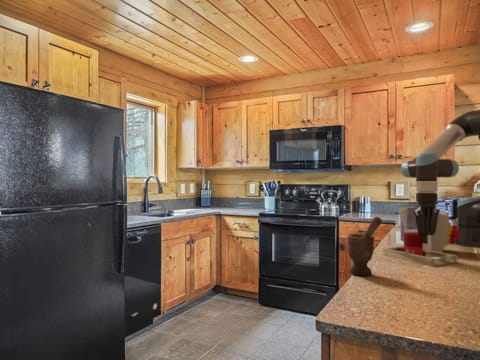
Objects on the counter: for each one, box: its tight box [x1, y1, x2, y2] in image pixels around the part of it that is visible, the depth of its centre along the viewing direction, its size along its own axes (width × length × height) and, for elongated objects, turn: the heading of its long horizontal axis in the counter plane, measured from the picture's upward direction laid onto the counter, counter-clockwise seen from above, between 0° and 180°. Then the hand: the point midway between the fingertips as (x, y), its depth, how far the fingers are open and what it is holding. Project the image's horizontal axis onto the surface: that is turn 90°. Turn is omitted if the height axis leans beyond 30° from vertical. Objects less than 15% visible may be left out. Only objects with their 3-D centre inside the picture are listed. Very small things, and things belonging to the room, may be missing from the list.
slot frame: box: [382, 245, 458, 267], centre depth 142 cm, size 15×22×3 cm
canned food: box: [403, 229, 426, 257], centre depth 144 cm, size 8×8×11 cm
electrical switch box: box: [431, 210, 459, 253], centre depth 155 cm, size 15×15×20 cm
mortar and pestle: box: [347, 216, 383, 277], centre depth 118 cm, size 12×9×20 cm
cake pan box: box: [399, 206, 418, 241], centre depth 187 cm, size 19×5×18 cm, turn 122°
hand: (427, 251), depth 139 cm, fingers closed
